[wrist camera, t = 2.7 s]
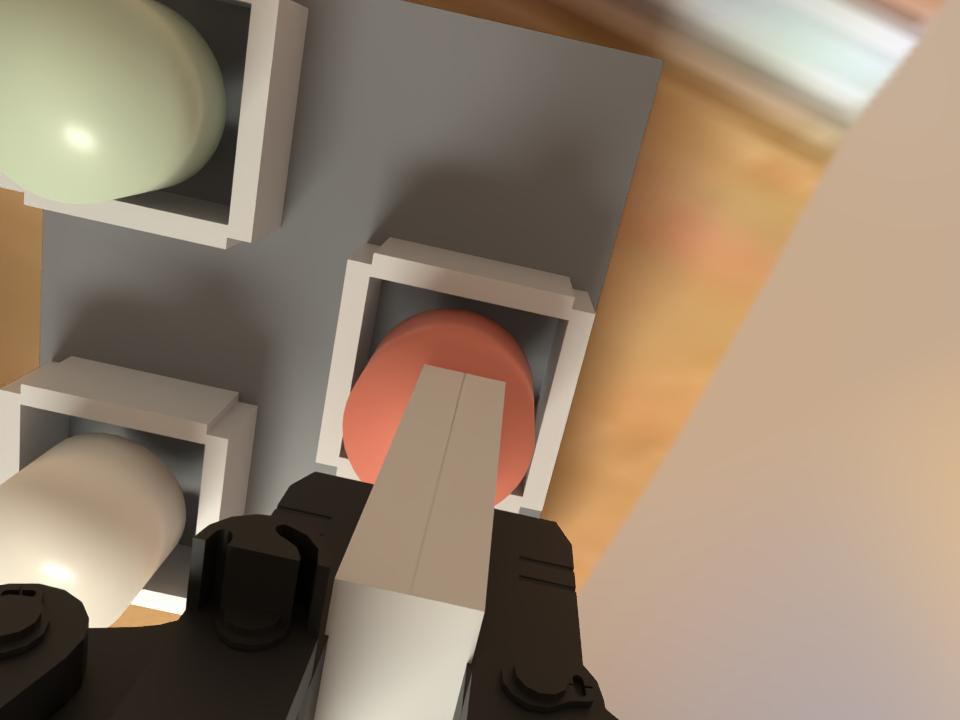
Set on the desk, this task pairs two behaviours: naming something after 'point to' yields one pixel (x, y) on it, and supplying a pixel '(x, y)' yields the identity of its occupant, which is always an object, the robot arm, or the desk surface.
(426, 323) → the red button
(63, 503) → the white button
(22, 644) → the robot arm
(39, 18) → the sage button
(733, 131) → the desk surface
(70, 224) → the control panel
